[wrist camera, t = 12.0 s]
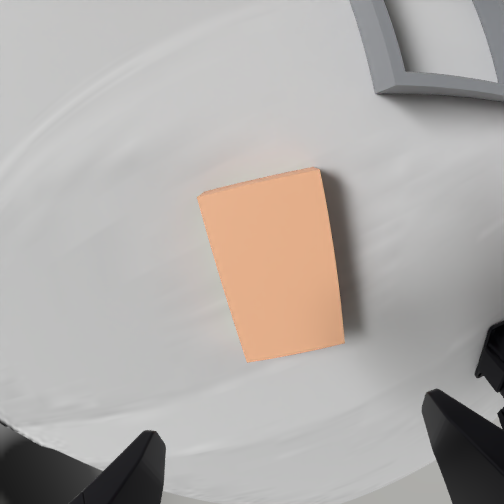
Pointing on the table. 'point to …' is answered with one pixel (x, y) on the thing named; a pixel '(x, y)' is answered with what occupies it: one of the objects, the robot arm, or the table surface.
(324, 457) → the table surface
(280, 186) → the peach rectangular block
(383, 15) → the charcoal open box
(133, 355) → the table surface
